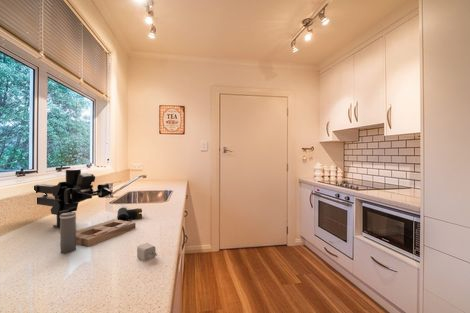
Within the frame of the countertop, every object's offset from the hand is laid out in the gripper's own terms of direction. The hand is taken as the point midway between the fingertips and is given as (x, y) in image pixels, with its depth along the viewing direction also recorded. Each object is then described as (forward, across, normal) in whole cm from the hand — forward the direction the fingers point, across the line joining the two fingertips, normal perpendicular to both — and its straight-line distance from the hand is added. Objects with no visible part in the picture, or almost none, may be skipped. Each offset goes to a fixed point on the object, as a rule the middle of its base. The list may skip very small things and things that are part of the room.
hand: (101, 194), depth 96 cm
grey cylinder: (+6, -17, +17) cm, 24 cm away
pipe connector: (-6, +20, +17) cm, 27 cm away
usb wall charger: (+36, -11, +17) cm, 42 cm away
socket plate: (+2, -1, +16) cm, 17 cm away
